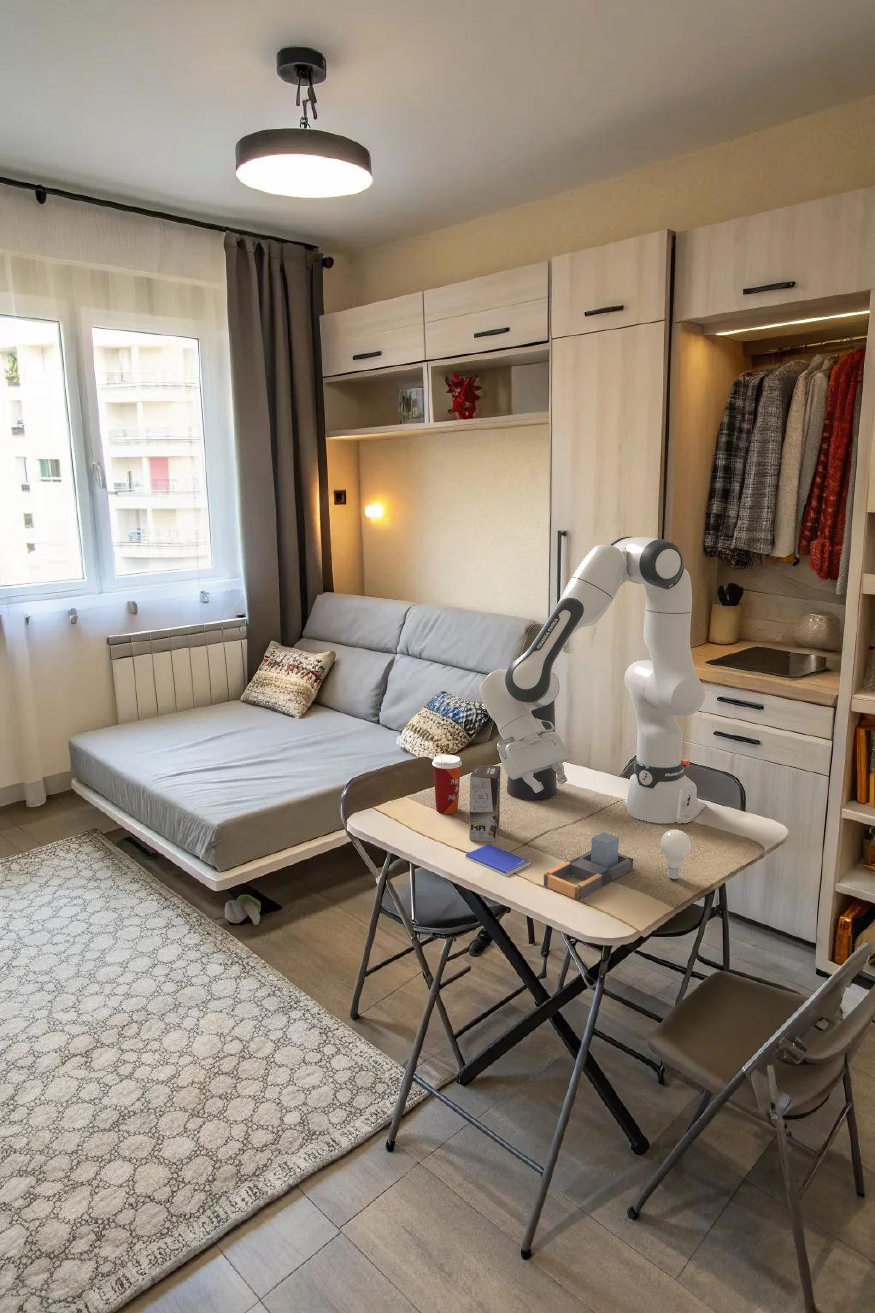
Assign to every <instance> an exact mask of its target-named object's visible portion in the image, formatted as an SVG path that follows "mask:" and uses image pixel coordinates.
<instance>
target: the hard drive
mask: <svg viewBox="0 0 875 1313" xmlns="http://www.w3.org/2000/svg"><path fill="white" fill-rule="evenodd" d="M464 858H465V859H467V860H469V861H470V862H473V863H476V864H477V865H480V866H483V867H484V868H487V869H489V870H491V871H493V872H495V873H498V874H500V875H503V876H505V877H508V876H510V875H512V874H514V873H516V872H519V871H520V870H522V869H524V868H527V867H529V866H530V865H531V864H532V862H531V860H529V859H526V858H524V857H522V856H519V855H518V854H517V855H516V854H515V853H511V852H509V851H507V850H504V849H503V848H500V847H497V846H495V845H492V844H490V843H489V844H485V845H484V846H481V847H478V848H477V849H474V850H472V851H469V852H468V853H466V854H465V857H464Z"/></svg>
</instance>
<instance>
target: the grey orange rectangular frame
mask: <svg viewBox="0 0 875 1313" xmlns="http://www.w3.org/2000/svg"><path fill="white" fill-rule="evenodd" d="M633 868H634V858H633V857H630V856H627V855H624V854H622V853H619V852H618V864H616V865H615V866H613V867H611V868H609V869H608V868H605V867H603V866H600V865H598V864H595V863H592V862H591V850H589V851H587V852H585V853H583V854H581V855H579V856H577V857H576V858H573V859H571V860H569V861H565V862H563V863H561V864H559V865H557V866H555V867H554V868H551V869H549V870H548V871H546V872H545V873H544V874H543V886H545V887H547V888H549V889H551V890H553V891H556V892H558V893H560V894H563V895H565V896H567V897H570V898H572V899H574V900H576V901H580V900H581V899H584V898H585V897H587V896H589V895H591V894H593V893H594V892H596V891H597V890H599V889H601V888H603V887H604V886H606V885H608V884H610V883H612V882H613V881H615V880H617V879H619V878H620V877H622V876H624V875H625V873H626V874H627V873H630V872H631V871H632V870H634V869H633ZM569 876H573V877H574V878H577V879H580V880H583V881H581V882H579V883H578V884H574V883H572V882H569V881H568V880H565V878H567V877H569ZM586 895H587V896H586ZM583 897H584V898H583Z"/></svg>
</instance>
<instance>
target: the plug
mask: <svg viewBox="0 0 875 1313" xmlns="http://www.w3.org/2000/svg"><path fill="white" fill-rule="evenodd" d="M619 845H620V836H616V835H614V834H611V833H608V832H605V831H602V832H600V833H599V834H597V835H595V836H592V837H591V845H590V846H591V848H590V851H591V862H592V863H595V864H598V865H600V866H603V867H605V868H608V869H609V868H611V867H613V866H615V865H616V864H618V853H619V848H620V847H619Z"/></svg>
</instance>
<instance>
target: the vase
mask: <svg viewBox="0 0 875 1313" xmlns="http://www.w3.org/2000/svg"><path fill="white" fill-rule="evenodd" d="M555 700H556V699H555ZM555 700H554V701H553V702H551V703H550V704H548V705H546V706H543V707H540V708H538V709H535V710H532V711H531V713H532V715H533V716H534V718H537V719H540V720H544V721H549V722H551V723H552V724H553V726H554V730H553V732H556V712H555V711H556V709H555ZM533 775H534V776H533V777H534V778H535V779H536V780H537V781H538V782H541V784H542V786H543V787H544V789H543V790H541V791H540V792H537V793H535V792H534V790H533V788H532V787H531V786H530V785H529V784H527V783H526V782H525V781H524V780H523V778H522V777H520V778H517V779H514V780H513V779H511V778H510V777H509V776H508V775H507V781H506V782H507V783H506V784H507V785H506V793H507V794H508V795H510V797H513V798H515V799H518V800H522V801H527V802H528V801H529V802H533V801H534V802H535V801H537V802H538V801H546V800H550V799H553V798H555V797H556V795H557V793H558V792H557V791H558V788H557V786H558V784H557V783H558V781H557V780H556V778H557V773H556V771H554V770H553V768H552V767H551V768H548V769H545V770H542V771H539V772H536V773H533Z"/></svg>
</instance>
